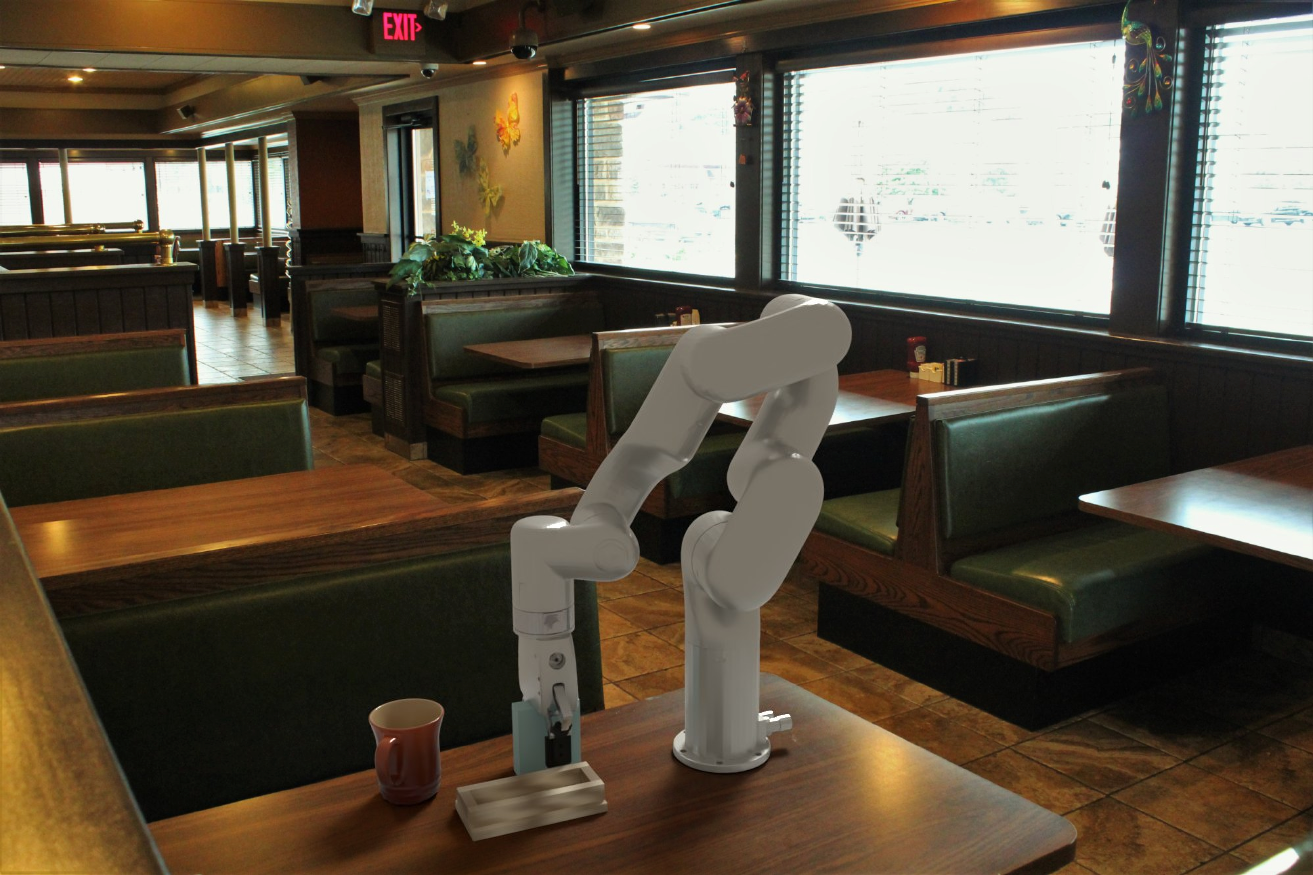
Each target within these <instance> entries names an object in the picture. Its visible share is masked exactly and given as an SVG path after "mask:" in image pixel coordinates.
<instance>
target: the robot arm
mask: <svg viewBox="0 0 1313 875" xmlns="http://www.w3.org/2000/svg"><path fill="white" fill-rule="evenodd" d="M852 334H853V332H852V324H851V322H850V320H849V318H848V317H847V315H846V313H845V312H844V311H843V310H842V309H841V308H840V307H839V306H838V305H837V304H835V303H833V302H831V301H828V300H826V299H823V298H818V297H814V296H808V295H804V294H798V293H790V294H788V293H787V294H782V295H780V296H776V297H775V298H773V299H772V300H771V301H769V302H768V303H767V304H766V305H765V307H764V308H763V309H762V312H761V313H760V317H759V318H757V319H755V320H752V321H749V322H746V323H742V324H739V325H736V326H731V327H727V328H726V327H725V326H722V325H721V326H720V325H716V324H706V323H705V324H698V325H696V326H693V327H691V328H690V329H688V330H687V331H686V332H685V333H684V334H683V335H682V336H681V337H680V338H679V340H678V341H677V343H676V344H675V346H674V348H673V349H672V351H671V353H670V355H669V357H668V358H667V360H666V362H665V364H664V365H663V368H662V369H661V370H660V373H659V375H658V376H657V378H656V380H655V381H654V383H653V385H652V387H651V389H650V391H649V392H648V394H647V396H646V398H645V400H643V403H642V405H641V406H640V409H639V410H638V412H637V413H636V415H635V418H633V421H632V422H631V424H630V426H629V427H628V429H627V430H626V431H625V433H623V435H622V436H621V437H620V438H619V439H618V441H617V443H616V444H615V445H614V447H613V448H612V449H611V451H610V452H609V453H608V454H607V456H606V457H605V458H604V460H603V461H602V462H601V464H600V466H599V467H598V468H597V470H596V472H595V473H594V475H593V477H592V479H591V480H590V482H589V483H588V485H587V487H586V489H585V490H584V493H583V494H582V495H581V497H580V499H579V502H578V503H577V505H576V507H575V508H574V510H573V512H572V516H571V517H570V521H568V520H566V519H564V518H563V517H559V516H555V515H532V516H527V517H524V518H520V519H519V520H517V521H516V522H515V523H514V524H513V525H512V526H511V527H512V528H511V531H510V559H511V560H510V562H511V563H510V564H511V566H510V567H511V590H512V591H511V593H512V594H511V595H512V596H511V598H512V601H511V603H512V625H513V626H512V628H513V629H512V630H513V632H514V634H515V635H517V636H518V646H517V647H518V651H517V652H518V656H517V657H518V661H517V662H518V682H519V688H520V691H521V692H522V701H526V700H528V701H529V702H530V704H531V705H532V706H533V707H534V709H535V710H536V711H537V712H538V713H539V714H540V715H542V716H544V719H545V724H546V730H547V735H548V736H545V765H546V766H547V768H553V767H558V766H563V765H568V764H570V763H571V761H572V756H571V734H572V730H571V727H572V724H571V722H572V719H573V714H572V711H573V712H574V711H576V710H577V709H578V698H579V691H578V690H579V686H578V674H577V661H576V653H575V646H574V641H573V635H572V633H573V631H574V630H575V629H576V628H575V627H576V626H575V580H580V581H583V580H584V581H590V582H591V581H592V582H605V583H606V582H609V583H610V582H615V581H619V580H621V579H623V578H625V577H627V576H629V575H630V574H631V573H632V572H633V571H634V569H636V567H637V564H638V562H639V560H640V559H639V558H640V553H641V552H640V546H639V541H638V539H637V537H636V535H635V533H634V531H633V530H632V529H631V527H630V526H631V524H632V523H633V521H634V519H635V517H636V515H637V513H638V512H639V510H640V509H641V507H642V505H643V504H644V502H645V501H646V499H647V497H648V496H649V495H650V493H651V492H652V490H653V489H654V488H655V487H656V486H657V484H658V483H660V481H662V480H663V479H665V478H666V477H667V476H669V475H671V474H673V473H675V472H677V471H679V470H680V469H682V468H683V467H685V466H686V465H688V464H689V462H691V460H693V458H694V456H695V454H696V452H697V451H698V449H699V447H700V445H701V443H702V442H703V440H704V438H705V437H706V434H707V433H708V431H709V429H710V427H712V424H713V422H714V420H715V419H716V417H717V415H718V413H720V412H719V411H720V409H721V408H722V406H723V405H724V404H730V403H736V402H741V401H744V400H748V399H751V398H755V397H758V396H761V395H764V394H766V395H765V397H764V399H763V402H762V404H761V407H760V409H759V411H758V412H757V415H756V417H755V418H754V420H753V421H752V424H751V425H750V427H749V429H748V431H747V433H746V435H745V437H744V439H743V440H742V442H741V444H740V445H739V447H738V449H737V451H736V452H735V454H734V456H733V458H732V459H731V461H730V464H729V467H728V470H727V473H726V483H727V486H728V487H727V488H728V490H729V492H730V494H731V496H733V498H734V500H735V501H736V502H737V503H736V505H735V508H733V511H732V512H731V511H730V512H729V511H726V510H714V511H709V512H706V513H704V514H702V515H700V516H698V517H697V518H695V519H694V520H693V521H692V523H691V524H690V525H689V527H688V528H687V530H685V531H686V532H685V534H684V536H683V538H682V543H681V550H680V561H681V562H680V564H681V576H682V585H683V598H684V729H683V730H681V731H680V732H679V733H678V734H677V735H675V737H674V739H673V743H672V750H673V751H672V752H673V754H674V757H676V759H677V760H679V761H680V762H681V763H682V764H683V765H686V766H688V767H690V768H693V769H696V770H698V771H703V772H707V773H708V772H709V773H718V774H730V773H739V772H745V771H747V770H751V769H754V768H756V767H759V766H761V765H763V764H764V763H765V762H766V761H767V760H768V759H769V757H770V755H771V746H772V745H771V742H770V740H769V738H768V737H769V736H771V735H772V734H773V733H774V732H782V731H787V730H790V729H792V728H793V719H792V717H791V715H790V714H787V713H786V714H782V715H777V716H775V714H774V713H773V712H774V711H772V710H766V711H762V712H760V658H761V657H760V655H761V654H760V653H761V652H760V648H761V646H760V643H761V642H760V641H761V611H760V610H761V609H760V608H761V607H762V606H763V605H765V604H766V603H768V601H770V600H771V598H772V597H773V596H774V595H775V594H776V593H777V591H778V590H779V588H780V587H781V586H782V584H783V582H784V580H785V578H787V575H788V573H789V572H790V570H791V568H792V567H793V564H794V562H795V561H796V559H797V557H798V555H799V553H800V551H801V549H802V548H803V547H804V544H805V543H806V540H807V538H808V537H809V535H810V533H811V531H812V529H813V528H814V526H815V523H816V521H817V520H818V517H819V516H820V512H821V510H822V505H823V501H824V495H825V494H824V492H825V488H824V480H823V477H822V474H821V472H820V469H819V468H818V467H817V465H816V464H815V463H814V462H813V457H814V456H815V453H816V451H817V450H818V448H819V445H820V443H821V442H822V439H823V437H824V434H825V433H826V431H827V429H828V427H829V424H830V422H831V420H832V418H833V415H834V412H835V410H836V406H837V402H838V401H837V400H838V395H839V372H838V366H837V365H838V364H839V363H840V362H841V361H842V360H843V359H844V357H845V356H846V355H847V354H848V352H849V350H850V346H851V343H852V338H853V337H852V336H853V335H852ZM553 706H556V707H557V710H554V711H549V710H548V708H549V707H553ZM555 716H559V718H558V719H559V721H557V722H555V724H554V726H553V724H552V719H551V717H555Z"/></svg>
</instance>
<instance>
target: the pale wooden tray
mask: <svg viewBox="0 0 1313 875" xmlns="http://www.w3.org/2000/svg"><path fill="white" fill-rule="evenodd" d="M605 794H606V793H605V783H604V781H603V780H602V779H601V778H600V777H599V775H598V774H597V773H596V772H595V771H594V769H593V768H592V767H591V766H590V764H589V763H588V762H587V761H581V762H580V763H575V764H571V765H566V766H561V767H556V768H551V769H546V770H541V771H537V772H532V773H527V774H522V775H517V774H516V775H514V776H513V775H512V776H509V777H508V776H507V777H504V778H498V779H493V780H489V781H484V782H479V783H474V784H469V785H465V786H459V787H456V800H454V801H455V802H454V803H455V804H454V805H455V809H456V811H457V814H458V815H459V818H460V819H461V821H462V823H463V825H464V827H465V828H466V830H467V832H468V834H469V836H470V838H471V840H472V841H473V842H477V841H481V840H485V839H490V838H494V837H499V836H503V835H508V834H514V833H517V832H521V831H525V830H531V829H534V828H539V827H543V826H548V825H552V824H557V823H562V822H565V821H569V820H574V819H579V818H583V817H587V816H592V815H597V814H601V813H606V812H608V810H609V809H608V807H609V806H608V805H609V804H608V802H607V801H606V798H605V796H606V795H605Z"/></svg>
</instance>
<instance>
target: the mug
mask: <svg viewBox="0 0 1313 875" xmlns="http://www.w3.org/2000/svg"><path fill="white" fill-rule="evenodd" d="M444 715H445V709H444V707H443V706H442V705H441V704H440V703H438V702H436V701H434V700H431V699H427V698H425V699H424V698H405V699H404V698H403V699H397V700H393V701H389V702H386V703H383V704H381V705H379V706H377V707H376V708H374V709H373V710H371V712H370V713H369V715H368V722H369V725H370V726H371V730H372V731H373V736H374V738H375V742H376V749H375V753H374V766H375V767H374V768H375V772H376V778H377V783H378V785H379V790H380V795H381V796H382V797H383V799H385V800H386V801H387V802H389V803H391V804H395V805H402V806H409V805H410V806H411V805H416V804H417V805H418V804H420V803H422V802H423V803H424V802H425V801H427V800H429V799H430V798H432V797H433V796H434V795H436V793H438V791H439V790H440V786H441V785H440V784H441V780H442V778H441V776H442V767H441V766H442V765H441V762H442V761H441V752H440V730H441V726H442V722H443V718H444Z"/></svg>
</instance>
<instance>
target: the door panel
mask: <svg viewBox="0 0 1313 875" xmlns="http://www.w3.org/2000/svg"><path fill="white" fill-rule="evenodd" d="M548 710H549V711H554V710H557V707H556V706H553V707H549V708H548ZM572 714H573V719H572V722H571V724H572V727H571V730H572V734H571V756H572V761H571V763H570V764H568V765H571V764H575V763H580V762H582V746H581V743H582V742H581V739H582V738H581V699H580V698H579V697H578V709H577V710H576V711H574V712H573V711H572ZM558 718H559V716H555V717H551V719H552V724H553V726H554V724H555V722H557V721H559V719H558ZM511 720H512V724H511V725H512V749H513V752H512V753H513V754H512V755H513V771H514V772H515V775H516V776H517V775H522V774H527V773H532V772H537V771H541V770H546V769H551V768H547V766H546V765H545V736H548V735H547V730H546V724H545V719H544V716H542V715H540V714H539V713H538V712H537V711H536V710H535V709H534V707H533V706H532V705H531V704H530V702H529V701H528V700H526V701H516V702H511ZM563 766H566V765H563ZM558 767H561V766H558ZM553 768H556V767H553Z"/></svg>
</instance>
